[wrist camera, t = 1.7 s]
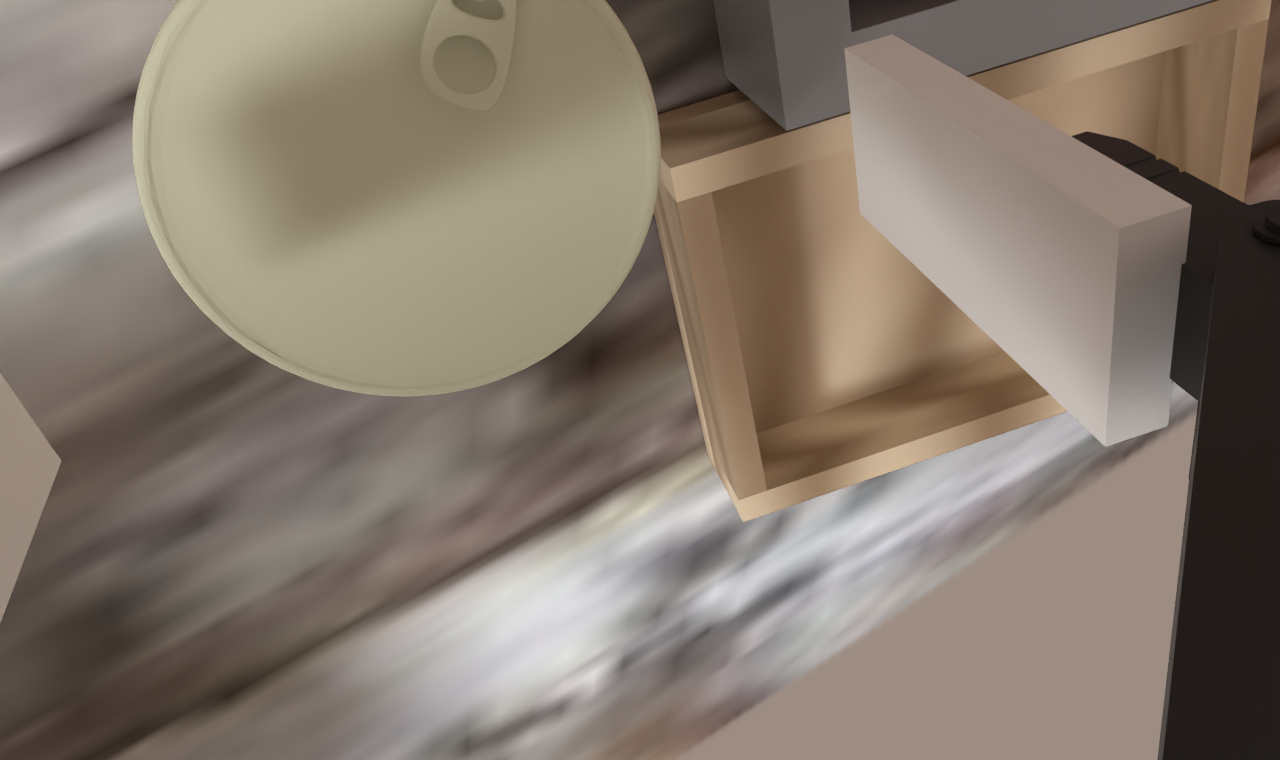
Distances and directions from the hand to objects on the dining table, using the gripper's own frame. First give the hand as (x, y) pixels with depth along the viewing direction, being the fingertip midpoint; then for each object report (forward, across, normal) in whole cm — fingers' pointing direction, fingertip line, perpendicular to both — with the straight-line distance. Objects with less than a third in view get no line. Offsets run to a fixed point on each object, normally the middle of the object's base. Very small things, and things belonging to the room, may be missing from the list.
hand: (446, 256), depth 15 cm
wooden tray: (+15, +15, -11) cm, 24 cm away
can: (+15, 0, 0) cm, 15 cm away
